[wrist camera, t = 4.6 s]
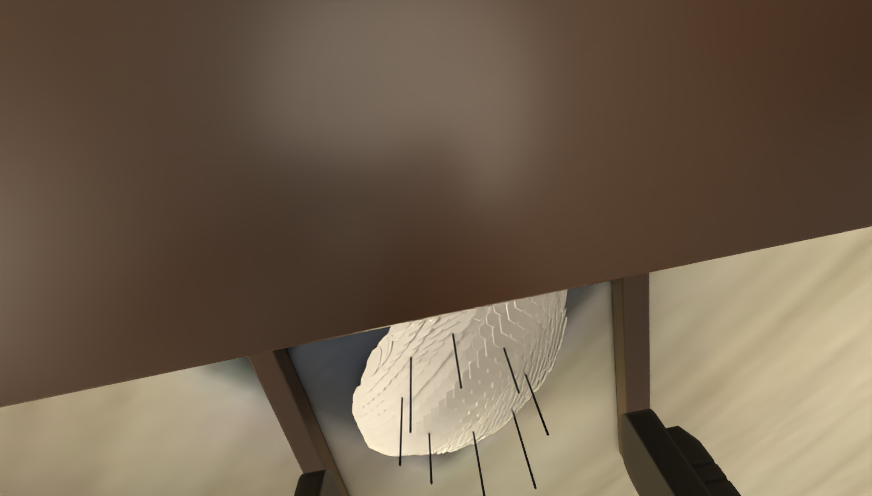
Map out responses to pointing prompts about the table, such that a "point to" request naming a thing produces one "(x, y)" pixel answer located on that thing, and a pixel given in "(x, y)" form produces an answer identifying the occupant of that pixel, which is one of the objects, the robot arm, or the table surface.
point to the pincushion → (457, 376)
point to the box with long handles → (396, 169)
